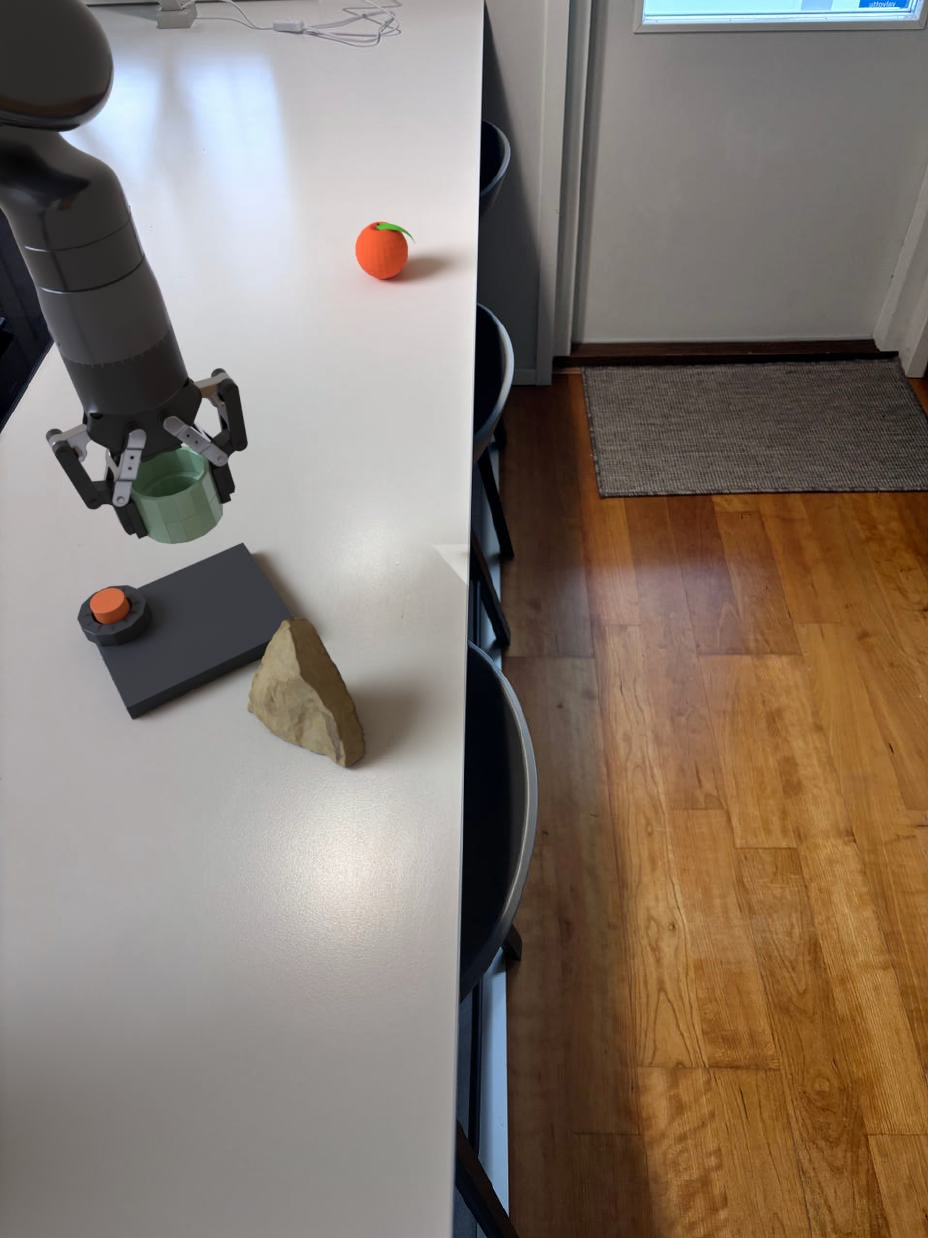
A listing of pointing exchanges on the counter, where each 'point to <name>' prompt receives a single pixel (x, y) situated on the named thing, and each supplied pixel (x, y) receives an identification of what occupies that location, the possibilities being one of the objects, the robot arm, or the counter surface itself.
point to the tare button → (110, 606)
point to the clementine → (382, 249)
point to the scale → (187, 628)
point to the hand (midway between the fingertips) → (182, 513)
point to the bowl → (177, 496)
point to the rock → (306, 695)
